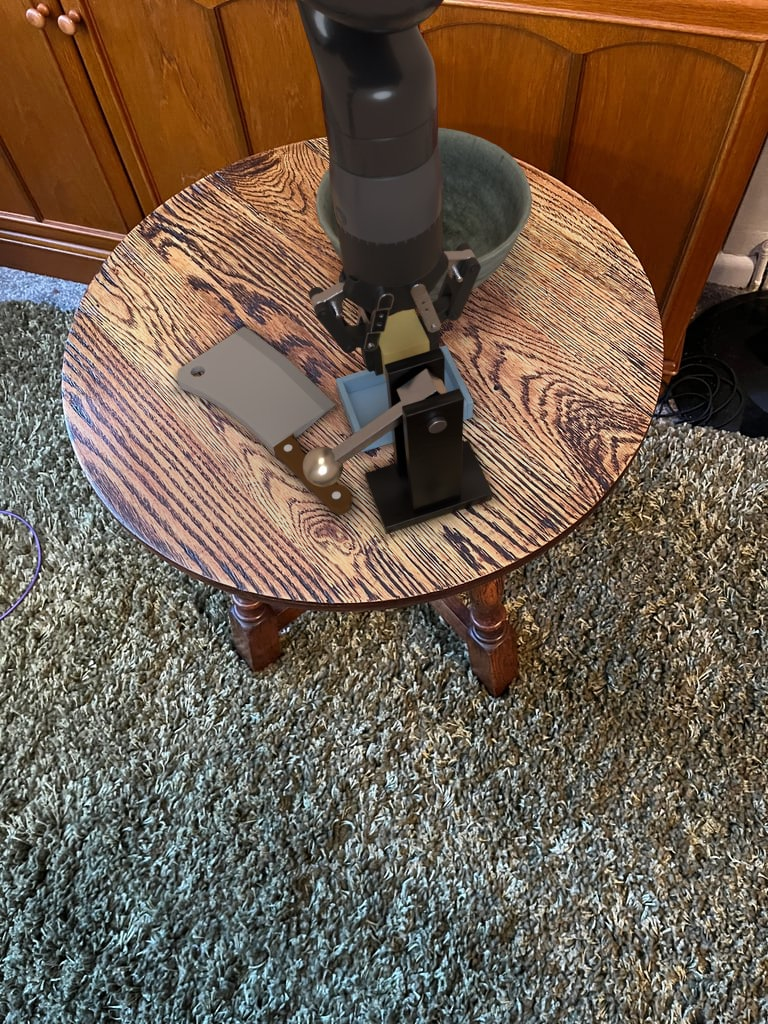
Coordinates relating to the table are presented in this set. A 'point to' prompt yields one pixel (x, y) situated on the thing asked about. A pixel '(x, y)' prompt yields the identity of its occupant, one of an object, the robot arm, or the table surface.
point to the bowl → (466, 201)
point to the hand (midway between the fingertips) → (401, 359)
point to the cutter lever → (368, 432)
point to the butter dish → (370, 398)
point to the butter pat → (402, 337)
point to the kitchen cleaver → (264, 400)
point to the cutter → (426, 454)
